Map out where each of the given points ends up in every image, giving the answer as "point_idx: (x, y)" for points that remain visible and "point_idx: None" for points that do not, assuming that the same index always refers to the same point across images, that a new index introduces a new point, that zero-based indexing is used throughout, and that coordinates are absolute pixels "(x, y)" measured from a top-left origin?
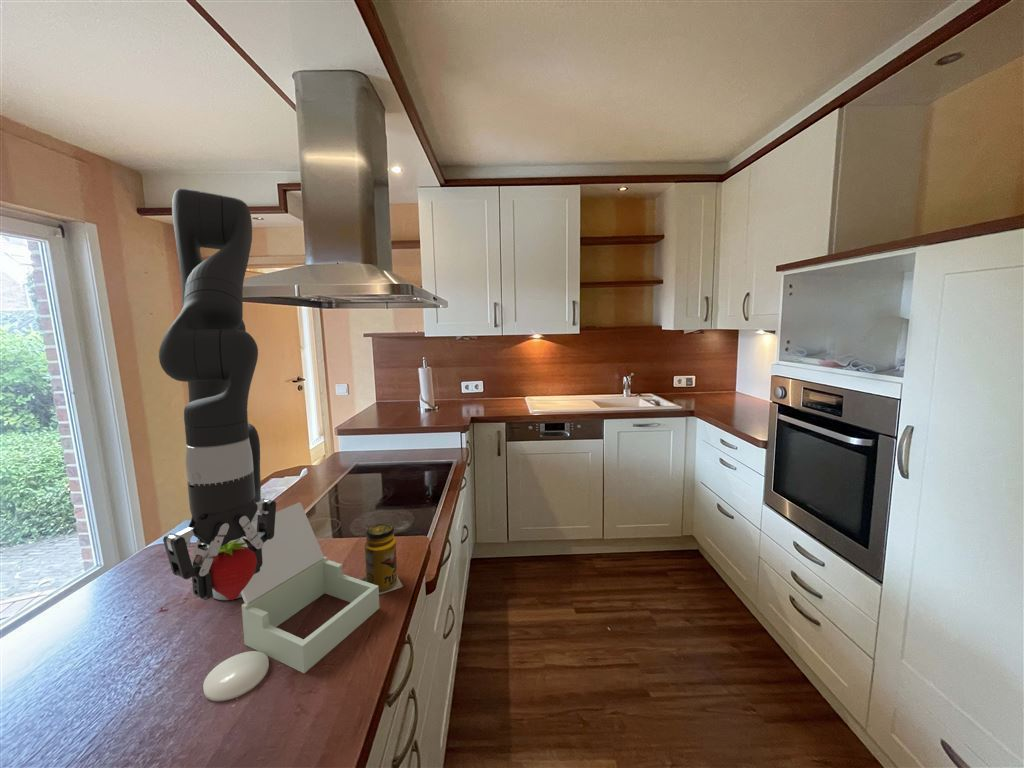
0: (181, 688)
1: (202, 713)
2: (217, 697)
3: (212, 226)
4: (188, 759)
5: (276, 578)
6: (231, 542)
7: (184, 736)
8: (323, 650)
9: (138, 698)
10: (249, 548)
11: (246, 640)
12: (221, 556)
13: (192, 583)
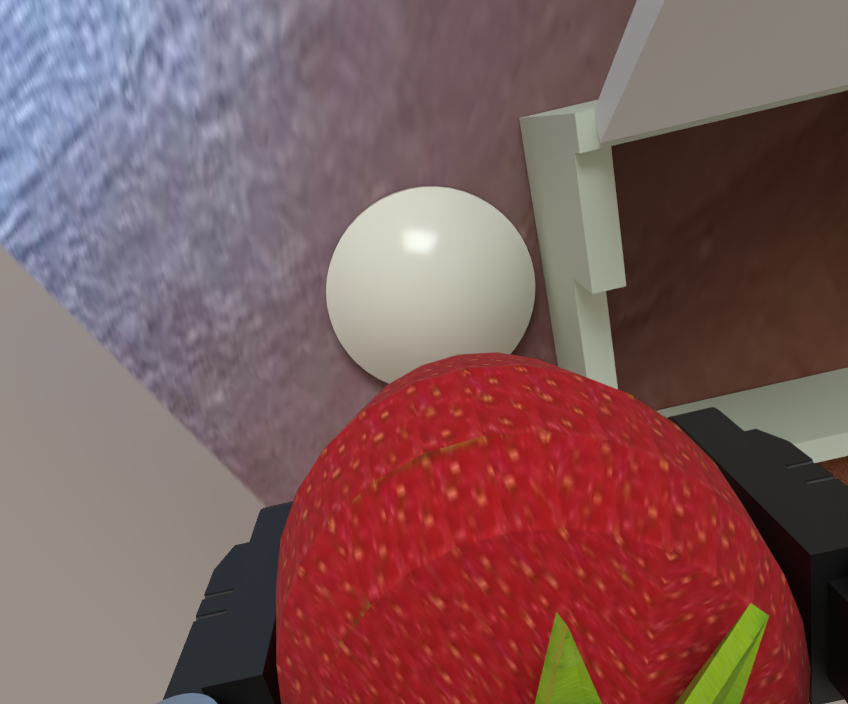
0: (278, 178)
1: (305, 358)
2: (349, 354)
3: None
4: (243, 484)
5: (837, 65)
6: (760, 635)
7: (249, 404)
8: None
9: (153, 95)
10: (833, 621)
11: (526, 135)
12: None
13: (184, 646)
